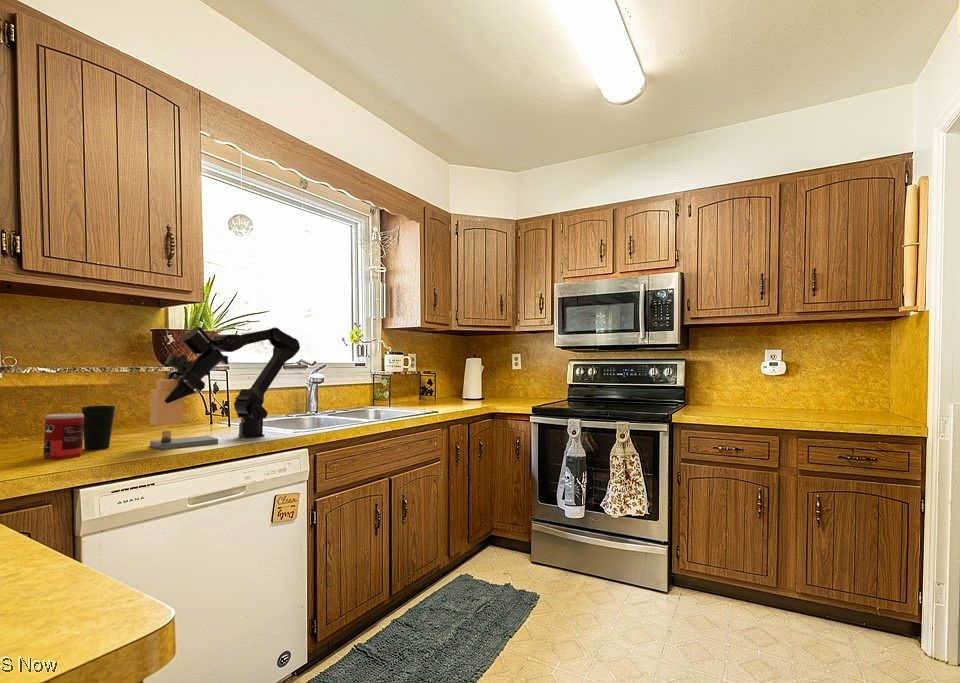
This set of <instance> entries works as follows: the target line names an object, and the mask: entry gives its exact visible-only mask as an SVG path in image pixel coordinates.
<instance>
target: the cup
mask: <svg viewBox="0 0 960 683" xmlns="http://www.w3.org/2000/svg"><path fill="white" fill-rule="evenodd" d="M115 410H116V406H115V405H88V406H83V407H82V408H81V412H82V413H81V414H84V425H83V444H84V451H101V450H100V449H103V450H108V449H109V448H110V442H111V438H112V430H113V423H114V418H115ZM107 448H108V449H107Z"/></svg>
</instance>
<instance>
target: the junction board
mask: <svg viewBox="0 0 960 683" xmlns="http://www.w3.org/2000/svg"><path fill="white" fill-rule="evenodd" d="M218 444H219V439H218V437H213V436H210V435H201V436H200V435H199V436H191V437H180V438H179V437H177V438H172V431H171V430H164V431H162V434H161V439H156V440H154V439H153V440H149V447H152V448H154V449H155V450H158V449H159V451H161V449H164V450H170V449H169V448H173V449H179V448H178V447H183V448H190V446H193V447H202V446H210V445H211V446H212V445H218Z"/></svg>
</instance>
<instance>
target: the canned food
mask: <svg viewBox="0 0 960 683" xmlns="http://www.w3.org/2000/svg"><path fill="white" fill-rule="evenodd" d="M83 425H84V414H82V413H77V412H75V413H74V412H73V413H72V412H71V413H53V414H52V413H51V414H46V415H45V419H44V436H43V453H42V454H43V458H44V459H46V460H67V459H72V458H73V459H74V458H78V457H80V456H82V453H83V444H84V432H83Z"/></svg>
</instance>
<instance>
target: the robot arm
mask: <svg viewBox="0 0 960 683" xmlns="http://www.w3.org/2000/svg"><path fill="white" fill-rule="evenodd" d="M179 340H180V342H181V343H183V345H184V346H185V347H186V348H187V349H188V350H189V351H190V352H191V353H192V354H193V355H197V354H198V356H197V357H195V358H194V359H190V360H188V356H187V355H185V354H179V355H174V354H169V355H168V357H167V358H166V360H165V362H164V365H165V366H168V367H171V368H174V369H176V371H175V370H172V371H171V370H170V371H169V372H167V374H165V380H168V379H175V380H178V381H177V386H176V388H175V389H174V390H173V391H172V392H171V393H170V395H169V396H168V397H167V398H166V399H165V402H166V403H170V402H172V401H175V400H177V399H180V398H182V397H184V398H185V397H188V396H190V395H194V394H196V393H197V392H199V393H200V392H201V391H204V389H205V387H206V382H204V381H203V380H202V379H204V377H206V376H210V374H211V371H212V370H213V369H215V367H217V365H219V364H222V365H223V364H224V365H227V366H228V365H229V356H228V355H224V354H223V353H233V352H235V351H238V350H239V349H241V348H243V347H244V346H246V345H250V344H254V343H259V342H263V341H267V340H268V342H269V343H270V345H271V346H273V348H272V356H271V358H270V359H269V360H268V362H267V364H266V365H265V367H263V369H262V371H261V372H260V374H259V375H258V376H257V378H256V379H255V381H254V382H253V384H252V386H251V387H250V388H248V389H246V388H245V389H244V388H241V390H240V391H239V393H238V395H237V396H236V397H234V400H235V401H234V402H233V406H234V409H235V410H234V411H235V412H236V415H237V418H238V419H240V422H239V424H238V425H239V426H238V434H237V436H238V437H240V438H241V437H242V438H258V437H265V436H266V435H265V434H264V433H263V430H264V427H263V426H264V424H263V423H264V419H266V418H267V416H268V413H269V412H268V411H267V410H266V409H265V408H264V407H263V404H264V402H265V394H266V392H267V390H268V389H269V387H270V386H271V384H272V383H273V382H274V380H275V378H276V377H277V375H278V374H279V373H280V371H281V370H282V368H283V366H284V365H285V363H286V362H288V361H289V360H291V359H292V358H293V357H294V356H296V355H297V353H298V352H299V351H300V348H301V344H300V342H299V340H298V339H297V338H295V337H293V336H291V335H289V334H288V333H286V332H284V331H282V330H281V329H280V328H278V327H276V326H275V327H274V326H271V327H270V326H269V327H266V328H262V329H257V330H253V331H252V330H251V331H247V332H244V333H243V332H242V333H239V334H238V333H236V334H235V333H234V334H233V333H232V334H226V333H225V334H216V335H214V336H213V338H212V337H211V338H210V337H209V335H208V334H207V333H206V332H205V330H204V329H203V327H202V326H195V327H194V328H193V329H191V330H188V332H185V333H184V334H182V336H181V337H180V339H179Z"/></svg>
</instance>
